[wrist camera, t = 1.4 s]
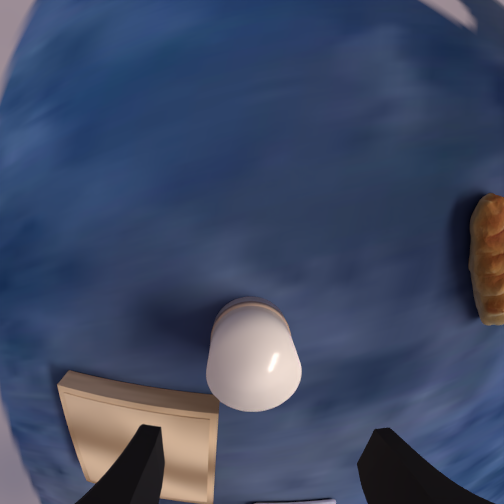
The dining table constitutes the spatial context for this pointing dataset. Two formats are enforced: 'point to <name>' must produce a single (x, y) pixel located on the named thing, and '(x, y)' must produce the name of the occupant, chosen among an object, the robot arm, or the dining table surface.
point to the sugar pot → (252, 356)
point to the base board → (128, 421)
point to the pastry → (488, 258)
